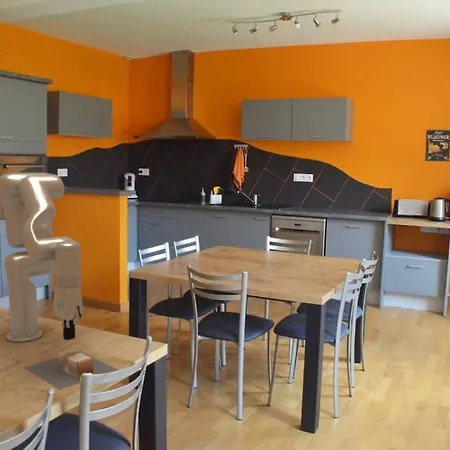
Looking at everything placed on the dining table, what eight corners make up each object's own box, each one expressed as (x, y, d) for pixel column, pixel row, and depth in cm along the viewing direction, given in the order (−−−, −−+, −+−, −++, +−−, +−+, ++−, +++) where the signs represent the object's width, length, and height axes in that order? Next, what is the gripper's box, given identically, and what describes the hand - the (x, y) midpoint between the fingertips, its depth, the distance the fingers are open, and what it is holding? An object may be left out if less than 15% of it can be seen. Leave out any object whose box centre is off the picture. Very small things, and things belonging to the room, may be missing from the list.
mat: (23, 369, 167) (23, 367, 167) (80, 352, 181) (80, 350, 181) (59, 391, 152) (59, 389, 152) (118, 371, 167) (118, 369, 166)
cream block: (58, 353, 166) (78, 363, 158) (73, 349, 170) (92, 358, 162) (59, 368, 167) (78, 379, 159) (73, 364, 170) (93, 374, 163)
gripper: (44, 278, 165) (46, 335, 168) (70, 288, 155) (71, 348, 158) (66, 274, 171) (67, 329, 174) (92, 284, 161) (93, 342, 163)
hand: (69, 338), depth 166 cm, fingers closed
